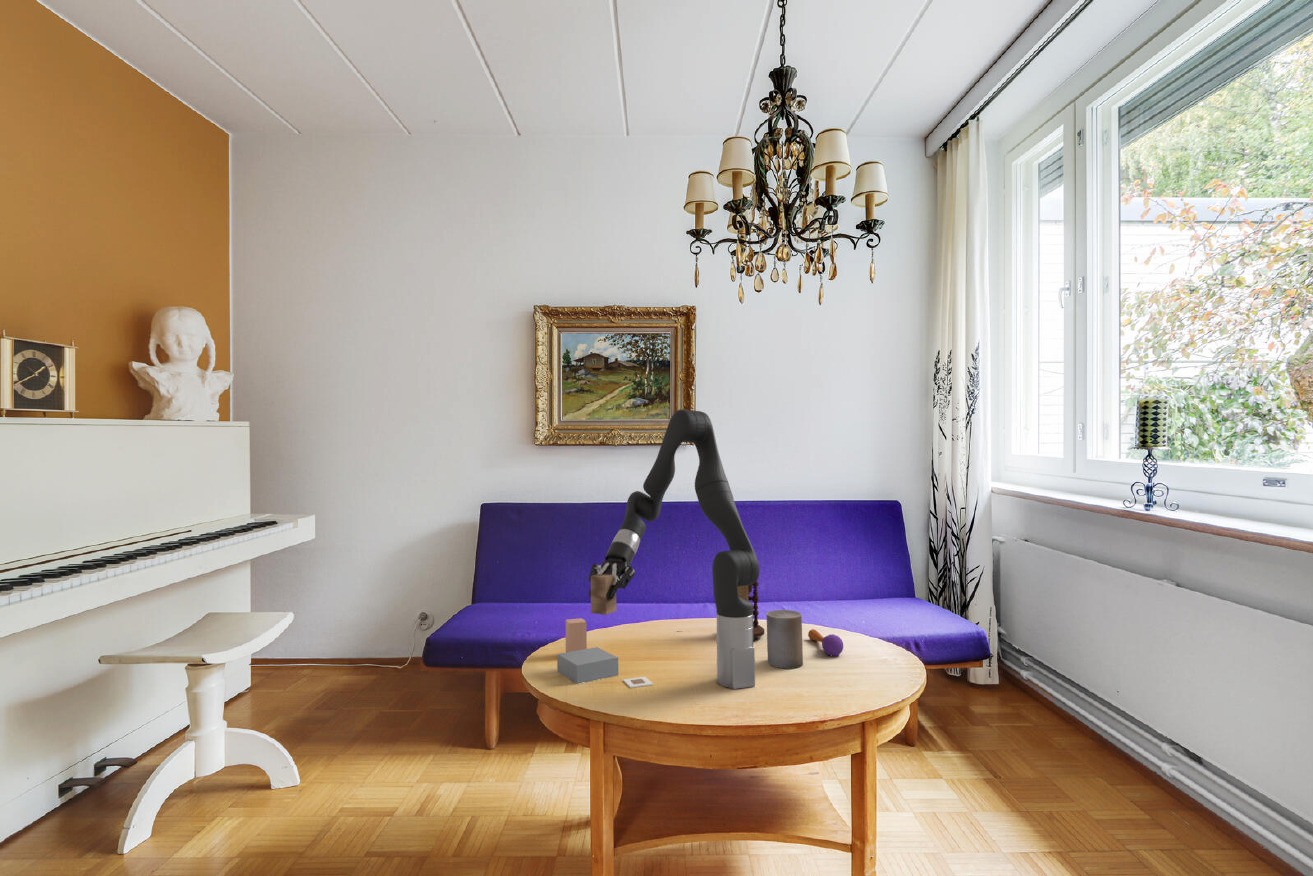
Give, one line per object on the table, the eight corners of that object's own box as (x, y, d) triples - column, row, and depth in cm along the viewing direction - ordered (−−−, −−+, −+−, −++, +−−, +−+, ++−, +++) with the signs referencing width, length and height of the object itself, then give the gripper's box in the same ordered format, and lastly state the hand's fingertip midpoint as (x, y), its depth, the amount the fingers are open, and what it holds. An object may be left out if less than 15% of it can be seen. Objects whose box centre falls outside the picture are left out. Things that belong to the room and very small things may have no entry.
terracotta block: (586, 657, 186) (586, 622, 187) (569, 659, 184) (569, 623, 185) (582, 652, 191) (582, 618, 191) (565, 654, 189) (565, 619, 189)
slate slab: (618, 676, 170) (618, 657, 170) (576, 685, 163) (576, 665, 163) (597, 665, 180) (597, 647, 180) (557, 672, 173) (557, 654, 173)
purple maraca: (823, 626, 204) (848, 638, 184) (821, 645, 203) (845, 659, 184) (805, 623, 204) (827, 635, 184) (802, 642, 203) (824, 656, 183)
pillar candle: (801, 658, 183) (799, 605, 184) (804, 669, 173) (803, 612, 174) (766, 658, 184) (765, 605, 185) (768, 668, 175) (766, 612, 175)
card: (653, 685, 162) (653, 683, 162) (630, 688, 160) (630, 686, 160) (645, 677, 168) (645, 676, 168) (623, 680, 165) (623, 679, 165)
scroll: (713, 641, 202) (712, 576, 203) (723, 629, 216) (722, 569, 217) (760, 645, 197) (759, 579, 198) (767, 633, 211) (766, 571, 212)
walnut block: (616, 611, 179) (616, 574, 179) (606, 614, 174) (605, 577, 175) (601, 609, 181) (601, 573, 182) (591, 613, 177) (590, 576, 177)
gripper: (597, 539, 189) (572, 587, 178) (639, 541, 181) (615, 592, 170) (608, 555, 193) (584, 603, 182) (649, 558, 186) (627, 608, 175)
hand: (599, 597), depth 176 cm, fingers closed on walnut block, 5 cm apart
